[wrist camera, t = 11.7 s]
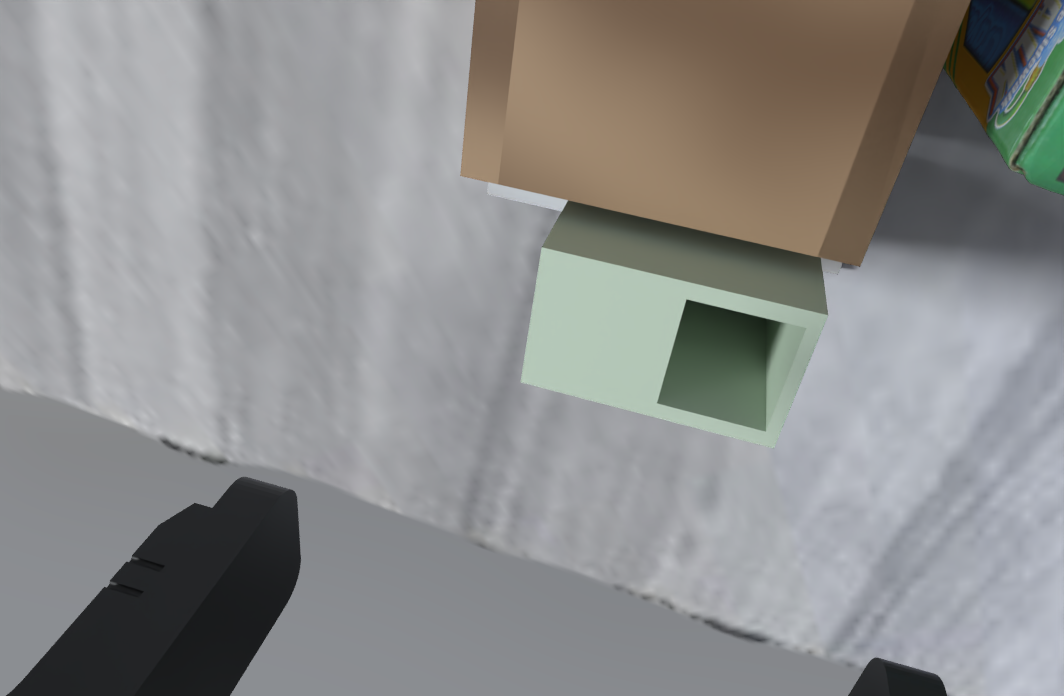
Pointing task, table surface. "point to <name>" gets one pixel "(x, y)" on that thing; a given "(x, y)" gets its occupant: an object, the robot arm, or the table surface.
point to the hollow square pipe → (673, 322)
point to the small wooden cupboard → (707, 110)
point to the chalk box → (1016, 82)
